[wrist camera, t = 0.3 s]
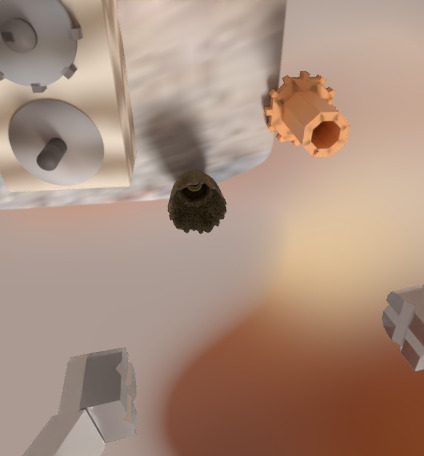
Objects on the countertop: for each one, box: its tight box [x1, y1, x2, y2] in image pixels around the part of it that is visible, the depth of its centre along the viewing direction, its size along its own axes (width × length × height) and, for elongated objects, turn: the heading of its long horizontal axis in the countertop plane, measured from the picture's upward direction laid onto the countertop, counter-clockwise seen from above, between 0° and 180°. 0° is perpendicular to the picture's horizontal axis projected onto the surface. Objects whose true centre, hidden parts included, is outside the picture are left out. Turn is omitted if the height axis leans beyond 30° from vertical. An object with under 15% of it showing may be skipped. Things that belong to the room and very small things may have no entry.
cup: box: [168, 172, 226, 234], centre depth 47 cm, size 8×7×8 cm
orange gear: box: [264, 71, 350, 157], centre depth 41 cm, size 9×9×10 cm
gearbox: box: [0, 0, 137, 192], centre depth 35 cm, size 20×13×14 cm, turn 0°
